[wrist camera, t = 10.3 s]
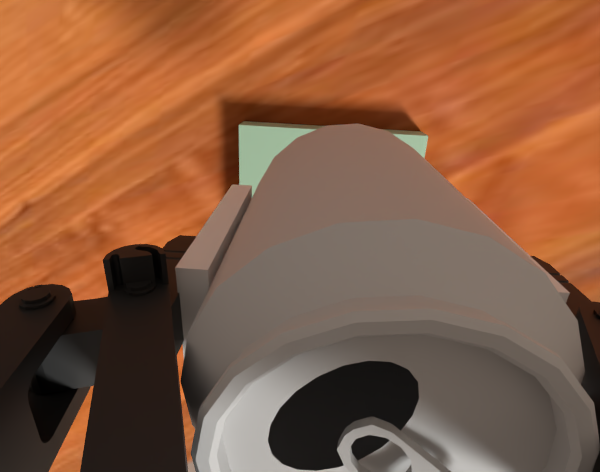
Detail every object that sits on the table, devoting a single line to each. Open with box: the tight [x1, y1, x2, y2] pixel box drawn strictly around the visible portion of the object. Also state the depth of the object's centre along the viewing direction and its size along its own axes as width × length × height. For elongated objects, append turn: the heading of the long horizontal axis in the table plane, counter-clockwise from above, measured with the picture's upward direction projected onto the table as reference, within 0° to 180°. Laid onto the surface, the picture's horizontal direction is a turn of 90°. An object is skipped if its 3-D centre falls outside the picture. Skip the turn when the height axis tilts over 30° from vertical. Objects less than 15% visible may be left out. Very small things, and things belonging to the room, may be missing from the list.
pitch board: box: [239, 121, 428, 197], centre depth 30 cm, size 13×12×2 cm
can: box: [181, 123, 600, 472], centre depth 11 cm, size 8×8×12 cm
